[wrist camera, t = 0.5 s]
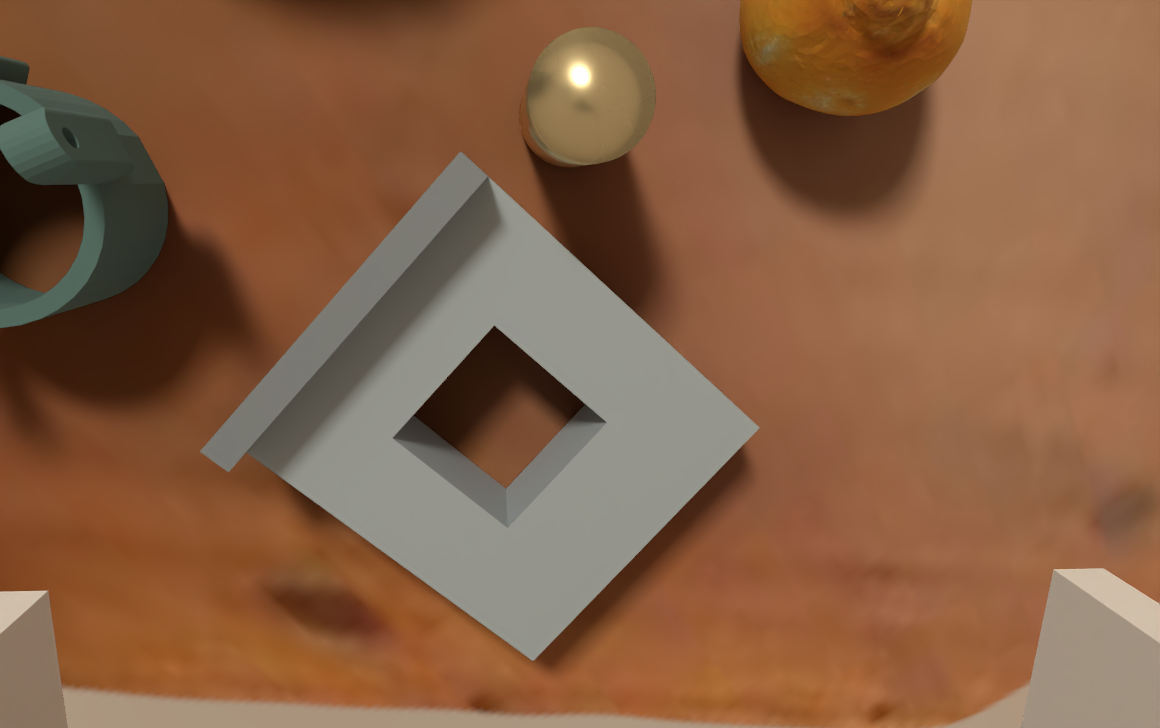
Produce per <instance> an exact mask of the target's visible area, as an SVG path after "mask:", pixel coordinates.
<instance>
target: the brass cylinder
mask: <svg viewBox="0 0 1160 728" xmlns="http://www.w3.org/2000/svg"><path fill="white" fill-rule="evenodd" d="M655 103H656V90H655V82H654V77H653V74H652V71H651V69H650V66H649V64H648V62H647V60H646V59H645V57H644V56H643V54H642V53H641V52H640V50H639V49H638V48H637V47H636V46H635V45H634V44H633V43H632V42H631V41H629V40H628V39H627V38H625V37H624V36H622V35H620V34H618V33H616V32H614V31H611V30H608V29H603V28H597V27H586V28H579V29H575V30H572V31H569V32H567V33H565V34H563V35H561V36H559V37H558V38H556V39H555V40H554V41H552V42H551V43H550V44H549V45H548V46H547V47H546V48H545V49H544V51H543V52H542V53H541V55H540V56H539V58H538V59H537V61H536V63H535V65H534V67H533V70H532V72H531V75H530V78H529V81H528V83H527V86H526V89H525V92H524V95H523V97H522V100H521V104H520V110H519V123H520V128H521V132H522V135H523V138H524V140H525V142H526V143H527V145H528V146H529V148H530V149H531V150H532V151H533V153H534V154H535V155H537V156H538V157H539V158H540V159H542V160H543V161H545V162H547V163H549V164H551V165H554V166H558V167H567V168H570V167H578V166H585V165H591V164H597V163H603V162H607V161H611V160H614V159H616V158H619V157H620V156H622V155H624V154H626V153H627V152H628V151H630V150H631V149H632V148H633V147H634V146H635V145H636V144H637V143H638V142H639V141H640V140H641V139H642V137H643V136H644V134H645V133H646V131H647V129H648V127H649V125H650V123H651V121H652V117H653V114H654V109H655Z"/></svg>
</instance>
